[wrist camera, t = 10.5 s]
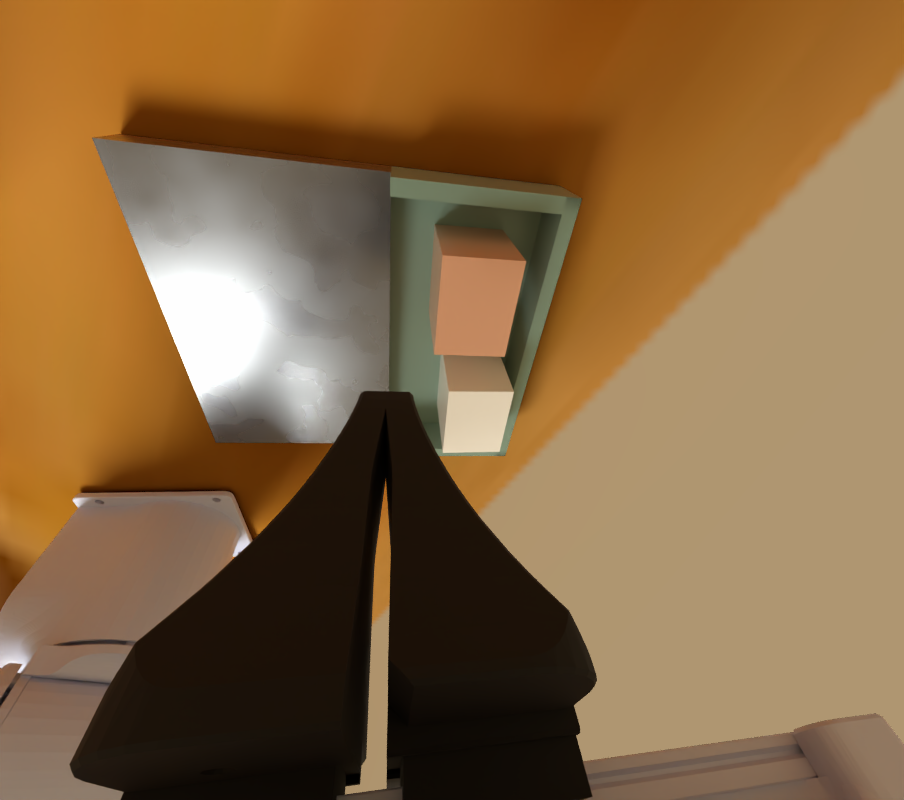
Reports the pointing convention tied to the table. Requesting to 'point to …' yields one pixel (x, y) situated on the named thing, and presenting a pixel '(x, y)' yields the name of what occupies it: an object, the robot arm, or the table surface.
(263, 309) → the plate
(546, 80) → the table surface
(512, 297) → the terracotta block
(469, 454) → the box
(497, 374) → the tile cream
